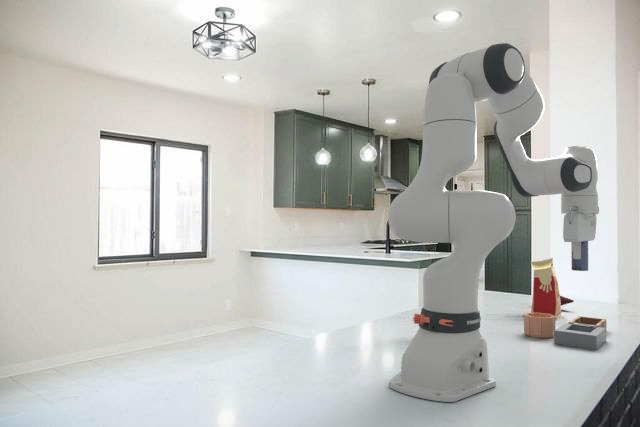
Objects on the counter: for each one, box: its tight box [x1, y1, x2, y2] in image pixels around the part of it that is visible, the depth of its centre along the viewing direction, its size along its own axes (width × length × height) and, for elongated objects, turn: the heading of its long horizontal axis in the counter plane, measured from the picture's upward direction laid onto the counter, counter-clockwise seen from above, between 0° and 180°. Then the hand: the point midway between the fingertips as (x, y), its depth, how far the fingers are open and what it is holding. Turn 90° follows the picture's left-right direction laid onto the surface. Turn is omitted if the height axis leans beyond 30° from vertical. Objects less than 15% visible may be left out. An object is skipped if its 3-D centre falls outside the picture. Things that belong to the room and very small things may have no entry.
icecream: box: [560, 295, 575, 307], centre depth 182 cm, size 7×7×15 cm
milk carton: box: [530, 257, 562, 320], centre depth 169 cm, size 9×9×20 cm
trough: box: [568, 315, 607, 329], centre depth 144 cm, size 12×8×3 cm, turn 140°
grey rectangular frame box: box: [553, 322, 607, 350], centre depth 132 cm, size 12×10×4 cm
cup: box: [523, 312, 556, 339], centre depth 141 cm, size 8×8×6 cm
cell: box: [570, 241, 589, 272], centre depth 132 cm, size 4×4×9 cm
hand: (579, 258), depth 132 cm, fingers closed on cell, 4 cm apart
